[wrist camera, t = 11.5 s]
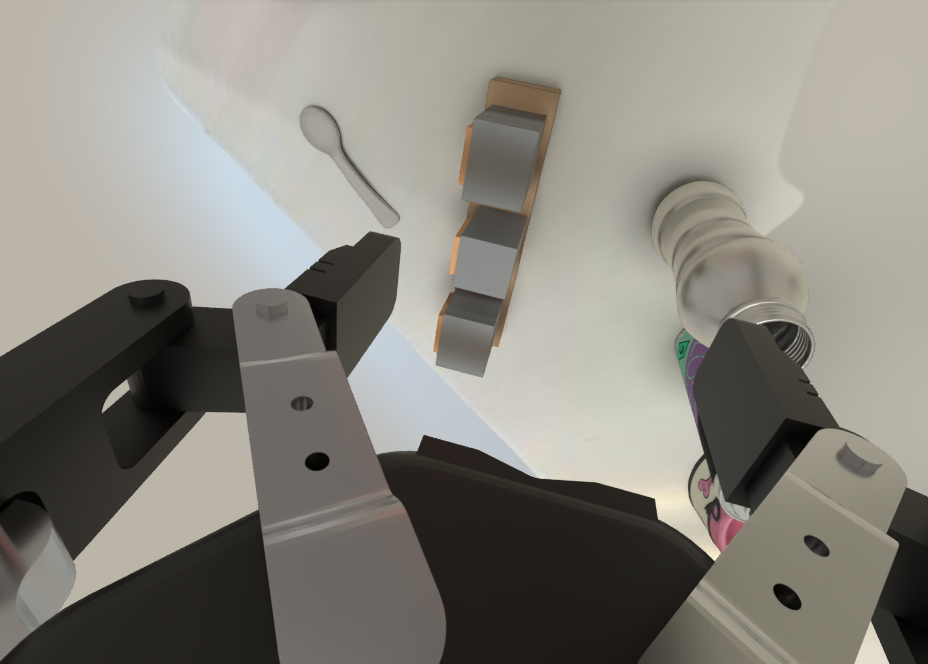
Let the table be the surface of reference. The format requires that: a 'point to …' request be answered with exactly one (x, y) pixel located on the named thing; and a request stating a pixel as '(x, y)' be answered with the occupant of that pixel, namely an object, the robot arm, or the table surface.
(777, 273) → the plastic bottle
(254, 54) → the table surface
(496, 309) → the rail
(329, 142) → the spoon
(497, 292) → the grey block
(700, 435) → the spray can
